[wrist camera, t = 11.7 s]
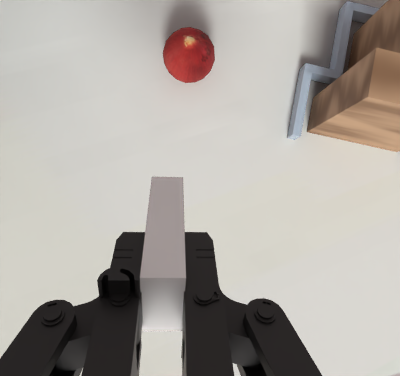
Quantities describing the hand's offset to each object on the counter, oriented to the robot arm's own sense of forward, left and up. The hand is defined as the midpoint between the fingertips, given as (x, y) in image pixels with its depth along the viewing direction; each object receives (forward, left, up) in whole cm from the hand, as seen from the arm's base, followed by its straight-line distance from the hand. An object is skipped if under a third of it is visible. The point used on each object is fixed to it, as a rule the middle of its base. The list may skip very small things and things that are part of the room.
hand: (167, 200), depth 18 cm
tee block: (-4, +28, -25) cm, 38 cm away
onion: (-15, +8, -25) cm, 30 cm away
